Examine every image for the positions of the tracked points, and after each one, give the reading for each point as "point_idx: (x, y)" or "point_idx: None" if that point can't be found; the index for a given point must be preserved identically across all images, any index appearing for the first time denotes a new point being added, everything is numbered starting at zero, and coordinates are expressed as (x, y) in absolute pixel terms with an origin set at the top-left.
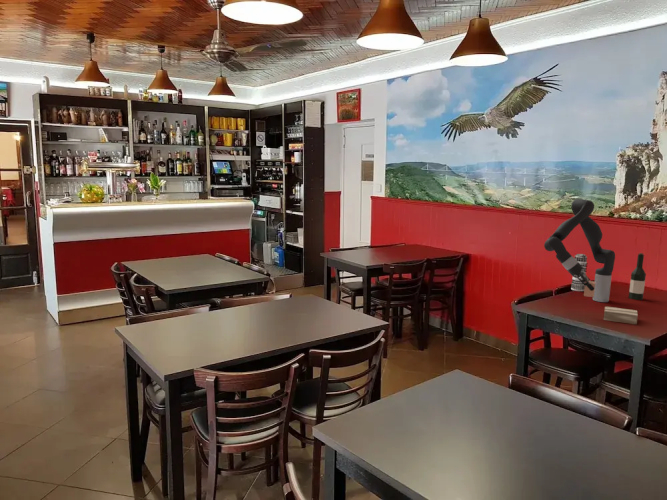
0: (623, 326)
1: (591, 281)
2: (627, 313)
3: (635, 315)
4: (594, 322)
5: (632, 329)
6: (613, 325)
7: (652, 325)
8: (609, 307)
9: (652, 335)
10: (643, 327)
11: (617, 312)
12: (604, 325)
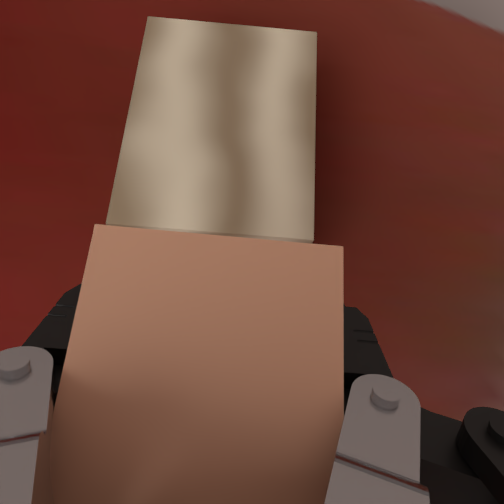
0: (405, 156)
1: (113, 328)
2: (289, 83)
3: (316, 43)
4: (427, 337)
5: (443, 116)
6: (423, 212)
7: (272, 12)
8: (142, 190)
9: (499, 41)
10: (352, 58)
11: (301, 145)
12: (466, 269)
